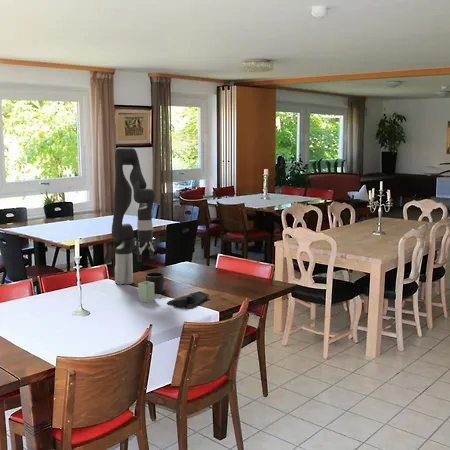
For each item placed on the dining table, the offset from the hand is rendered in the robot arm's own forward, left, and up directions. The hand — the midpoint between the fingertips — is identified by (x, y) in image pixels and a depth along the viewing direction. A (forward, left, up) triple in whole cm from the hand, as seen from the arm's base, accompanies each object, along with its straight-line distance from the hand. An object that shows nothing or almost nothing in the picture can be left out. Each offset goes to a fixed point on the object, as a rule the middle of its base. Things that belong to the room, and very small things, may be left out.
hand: (145, 260), depth 283 cm
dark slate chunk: (+23, +7, -20) cm, 31 cm away
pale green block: (+5, -5, -19) cm, 20 cm away
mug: (-4, +11, -19) cm, 22 cm away
